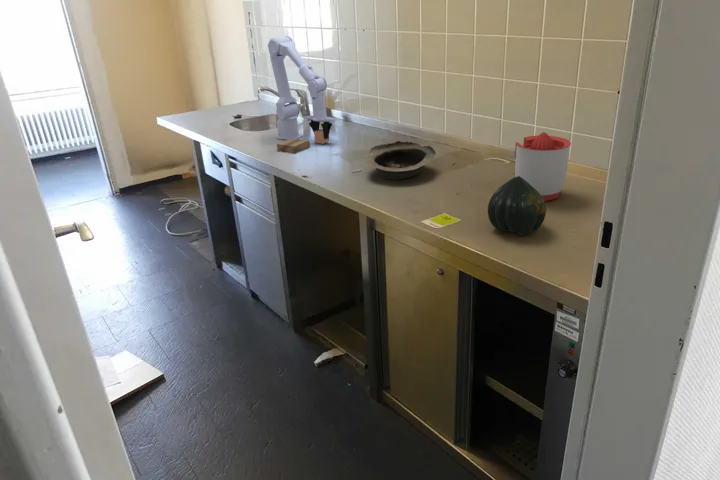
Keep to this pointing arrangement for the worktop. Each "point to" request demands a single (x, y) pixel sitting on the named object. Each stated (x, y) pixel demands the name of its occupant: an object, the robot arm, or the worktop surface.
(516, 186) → the squash
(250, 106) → the worktop surface
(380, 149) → the stone bowl
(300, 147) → the walnut block
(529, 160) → the citrus juicer
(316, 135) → the terracotta cube
